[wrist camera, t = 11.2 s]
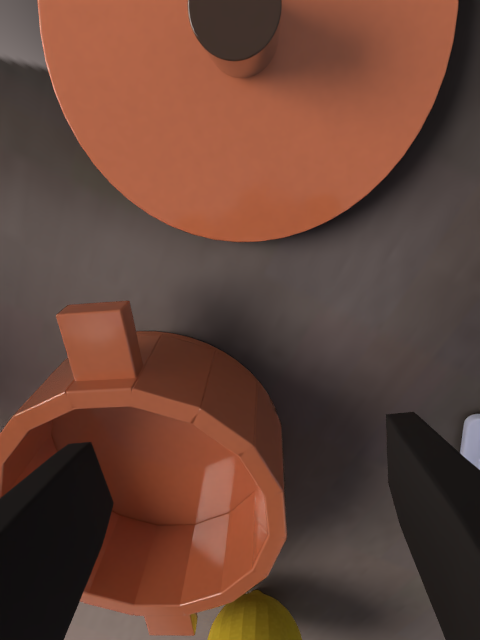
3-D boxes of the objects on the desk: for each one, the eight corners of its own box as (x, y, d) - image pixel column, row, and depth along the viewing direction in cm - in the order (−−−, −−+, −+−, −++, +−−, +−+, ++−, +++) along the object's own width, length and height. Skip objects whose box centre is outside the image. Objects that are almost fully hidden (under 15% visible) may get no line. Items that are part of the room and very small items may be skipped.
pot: (269, 264, 18) (270, 307, 13) (291, 557, 25) (296, 652, 20) (-8, 285, 19) (-96, 332, 14) (87, 560, 26) (48, 650, 21)
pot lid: (468, -283, 11) (582, -524, 7) (429, 221, 17) (482, 248, 13) (-1, -191, 13) (-131, -350, 9) (102, 249, 18) (52, 282, 14)
